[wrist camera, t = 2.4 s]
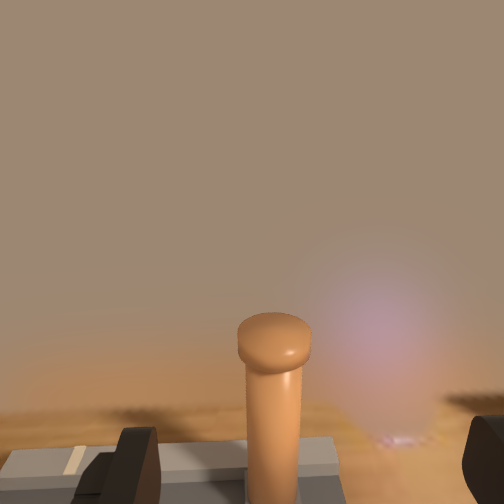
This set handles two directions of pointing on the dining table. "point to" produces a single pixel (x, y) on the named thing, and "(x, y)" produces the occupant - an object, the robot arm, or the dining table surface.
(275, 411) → the wooden peg
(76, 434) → the dining table surface
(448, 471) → the dining table surface
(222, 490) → the grey stand base
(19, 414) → the dining table surface
